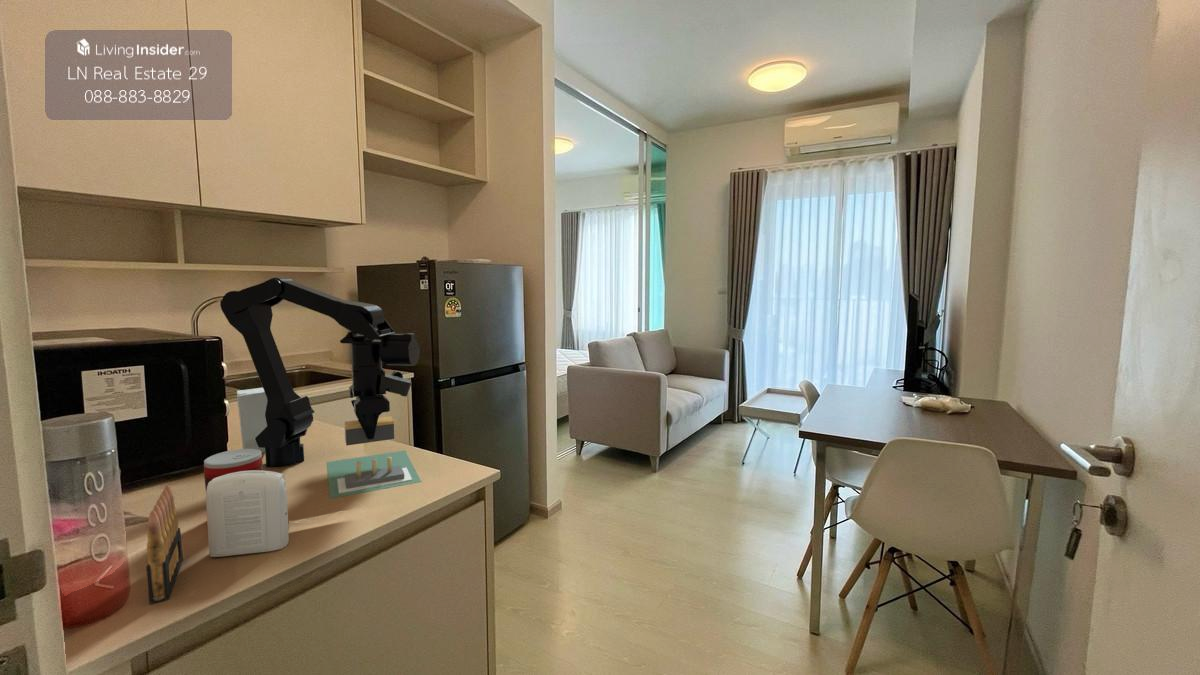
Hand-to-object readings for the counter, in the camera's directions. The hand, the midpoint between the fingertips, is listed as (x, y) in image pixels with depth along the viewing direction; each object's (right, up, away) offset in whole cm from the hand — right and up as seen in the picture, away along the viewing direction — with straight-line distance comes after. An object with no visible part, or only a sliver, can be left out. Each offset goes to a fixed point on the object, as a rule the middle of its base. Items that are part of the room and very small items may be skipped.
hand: (369, 436), depth 103 cm
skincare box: (-32, -6, +12) cm, 35 cm away
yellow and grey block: (0, -1, 0) cm, 1 cm away
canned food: (-14, -10, -20) cm, 26 cm away
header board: (+2, -8, -2) cm, 9 cm away
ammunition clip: (-10, -12, -37) cm, 41 cm away
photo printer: (-4, -12, -29) cm, 32 cm away
